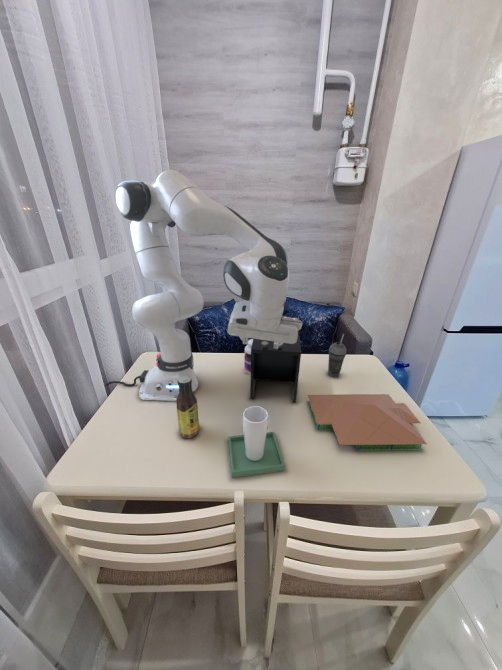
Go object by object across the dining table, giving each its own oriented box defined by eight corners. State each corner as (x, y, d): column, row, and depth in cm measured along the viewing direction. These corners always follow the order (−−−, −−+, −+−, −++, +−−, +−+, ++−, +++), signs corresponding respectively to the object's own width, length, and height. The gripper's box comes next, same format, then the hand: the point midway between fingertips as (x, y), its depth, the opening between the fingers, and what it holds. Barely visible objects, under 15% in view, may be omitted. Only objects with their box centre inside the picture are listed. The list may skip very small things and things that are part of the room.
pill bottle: (240, 369, 117) (240, 340, 111) (255, 364, 122) (255, 336, 115) (251, 378, 111) (252, 348, 105) (266, 372, 116) (267, 342, 110)
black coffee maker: (295, 403, 97) (301, 349, 87) (250, 399, 99) (250, 346, 89) (294, 381, 110) (299, 331, 100) (254, 378, 111) (255, 329, 102)
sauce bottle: (195, 440, 81) (189, 388, 72) (176, 437, 82) (168, 385, 73) (202, 425, 86) (198, 375, 78) (185, 422, 88) (178, 372, 79)
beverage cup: (328, 368, 119) (334, 328, 110) (344, 373, 115) (352, 332, 107) (322, 375, 114) (328, 334, 105) (338, 381, 110) (346, 338, 101)
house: (433, 451, 78) (441, 431, 75) (322, 452, 77) (326, 432, 74) (393, 401, 99) (399, 383, 95) (306, 401, 98) (308, 383, 94)
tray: (232, 477, 70) (231, 472, 69) (228, 441, 81) (228, 436, 80) (283, 470, 72) (284, 465, 71) (273, 436, 83) (273, 431, 82)
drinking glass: (246, 466, 72) (246, 425, 66) (240, 447, 78) (239, 407, 72) (269, 460, 74) (272, 420, 67) (261, 442, 80) (263, 403, 73)
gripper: (304, 311, 72) (294, 341, 83) (230, 301, 72) (229, 332, 83) (304, 328, 68) (293, 358, 79) (226, 317, 68) (226, 348, 79)
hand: (260, 344), depth 81 cm, fingers open, 8 cm apart
